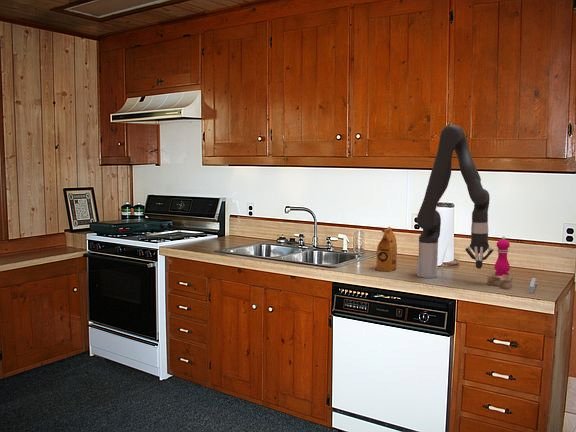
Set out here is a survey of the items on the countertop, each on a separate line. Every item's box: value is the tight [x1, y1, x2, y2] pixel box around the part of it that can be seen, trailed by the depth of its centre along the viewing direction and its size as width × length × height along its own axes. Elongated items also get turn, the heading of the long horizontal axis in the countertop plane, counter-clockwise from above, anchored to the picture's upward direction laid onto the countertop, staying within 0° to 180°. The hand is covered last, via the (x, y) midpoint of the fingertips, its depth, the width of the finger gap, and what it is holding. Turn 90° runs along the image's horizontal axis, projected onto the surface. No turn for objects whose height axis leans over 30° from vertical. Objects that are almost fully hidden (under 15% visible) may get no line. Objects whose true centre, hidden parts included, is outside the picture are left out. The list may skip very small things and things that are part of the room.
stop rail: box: [528, 277, 537, 294], centre depth 252 cm, size 2×18×3 cm, turn 153°
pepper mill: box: [494, 236, 511, 276], centre depth 275 cm, size 7×7×20 cm
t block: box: [486, 274, 513, 290], centre depth 258 cm, size 10×12×4 cm
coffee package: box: [375, 226, 398, 273], centre depth 292 cm, size 10×12×22 cm
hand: (479, 268), depth 261 cm, fingers closed
